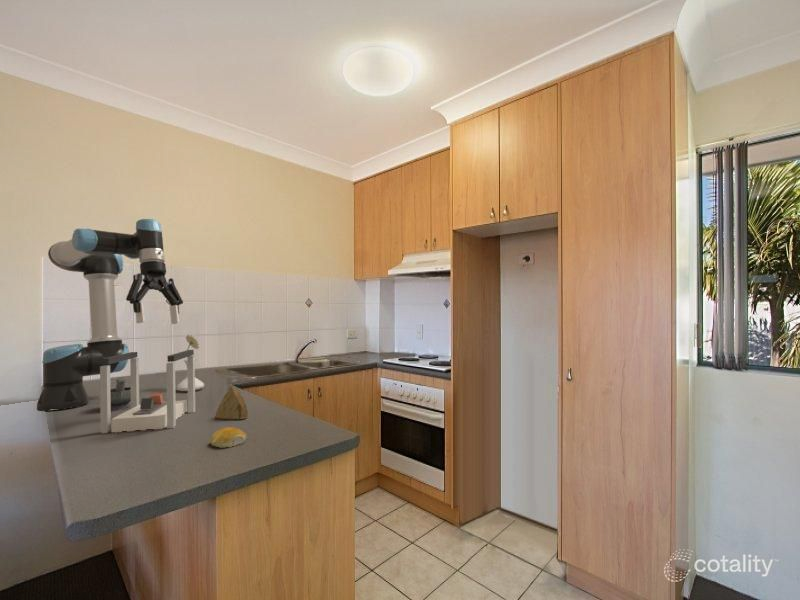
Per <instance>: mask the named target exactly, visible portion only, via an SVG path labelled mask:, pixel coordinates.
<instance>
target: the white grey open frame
mask: <svg viewBox="0 0 800 600" xmlns="http://www.w3.org/2000/svg"><path fill="white" fill-rule="evenodd" d="M186 359H187V365H186V373H187V372H188V391H187V399H185V400H176V361H174V362H166V366H165V367H166V369H165V370H166V401H163V402H162V404H153V409H143V410H142V409H140V406H141V403H140V379H139V378H140V371H139V370H140V369H139V368H140V367H139V366H140V364H139V363H140V362H139V357H136V358H132V359H129V360H130V364H129V366H130V370H129V371H130V372H129V373H130V387H131V401H130V409H128V410H127V411H124V412H123V413H120V414H119V415H116V416H114V417H113V418H111V417H112V416H111V415H112V413H111V412H112V410H111V398H110V389H111V373H110V365H108V366H100V374H99V386H100V387H99V391H100V393H99V395H100V396H99V398H100V399H99V400H100V406H99V408H100V413H99V414H100V434H107V433H109V432H111V433H113V432H114V433H123V432H122V431H127V432H136V431H135V430H141V431H147V430H146V429H154V430H164V429H165V428H166V429H174V428H176V427H177V419H178V417H179V418H180V417H181V416H183V415H184V414H186V413H187V412H188V414H189V413H191V414H192V413H193V412H194V413H195V412H196V390H195V378H196V375H195V374H196V372H195V371H196V370H195V369H196V368H195V367H196V366H195V365H196V364H195V363H196V360H195V359H196V358H195V355H192V356H189V357H186ZM185 412H186V413H185ZM182 414H183V415H182ZM175 426H176V427H175ZM163 428H164V429H163Z"/></svg>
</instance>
